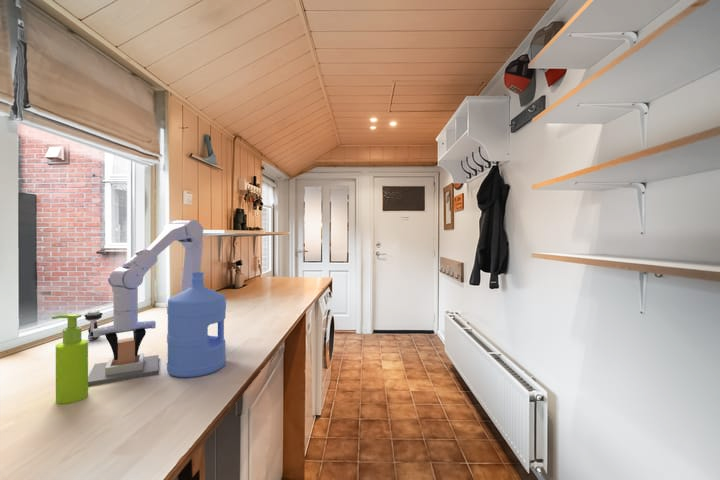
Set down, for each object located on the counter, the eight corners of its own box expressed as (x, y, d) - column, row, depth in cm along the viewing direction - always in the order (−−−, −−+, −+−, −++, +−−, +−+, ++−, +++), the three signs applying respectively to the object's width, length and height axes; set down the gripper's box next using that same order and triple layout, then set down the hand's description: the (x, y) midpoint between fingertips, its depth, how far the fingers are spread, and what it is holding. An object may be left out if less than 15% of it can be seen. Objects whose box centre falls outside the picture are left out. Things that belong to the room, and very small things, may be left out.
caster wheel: (98, 340, 123) (98, 313, 123) (80, 342, 121) (80, 314, 121) (104, 335, 130) (104, 309, 129) (87, 337, 127) (87, 310, 127)
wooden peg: (132, 361, 100) (132, 337, 100) (134, 364, 97) (134, 340, 97) (116, 364, 98) (116, 340, 98) (117, 368, 95) (117, 343, 95)
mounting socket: (158, 358, 107) (158, 348, 107) (157, 374, 95) (157, 363, 95) (94, 367, 99) (94, 357, 99) (85, 386, 87) (85, 374, 87)
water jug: (164, 382, 90) (164, 277, 90) (169, 362, 104) (169, 271, 104) (227, 373, 97) (228, 274, 96) (223, 355, 111) (224, 269, 110)
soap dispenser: (64, 392, 84) (64, 311, 83) (93, 391, 84) (93, 311, 84) (44, 404, 78) (43, 317, 78) (76, 403, 78) (76, 317, 78)
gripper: (152, 304, 105) (152, 348, 105) (92, 310, 95) (92, 359, 95) (157, 308, 100) (157, 354, 100) (94, 315, 90) (94, 366, 90)
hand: (125, 357), depth 97 cm, fingers closed on wooden peg, 4 cm apart
